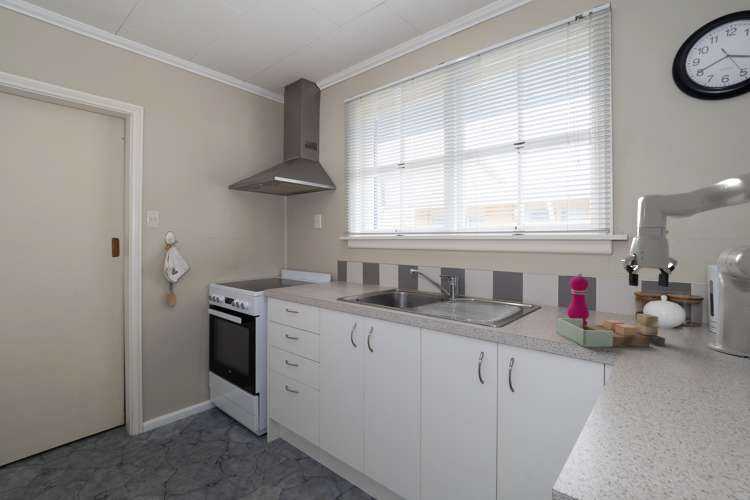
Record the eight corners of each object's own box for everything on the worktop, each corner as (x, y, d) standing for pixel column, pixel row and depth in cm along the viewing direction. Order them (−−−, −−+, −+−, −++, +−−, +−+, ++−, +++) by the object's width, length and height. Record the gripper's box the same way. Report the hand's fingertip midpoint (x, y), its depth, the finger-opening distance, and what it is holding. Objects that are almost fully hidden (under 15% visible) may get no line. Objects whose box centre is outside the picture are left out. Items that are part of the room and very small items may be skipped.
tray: (581, 332, 122) (582, 318, 122) (612, 347, 106) (613, 331, 106) (556, 332, 122) (556, 318, 122) (583, 347, 106) (584, 330, 106)
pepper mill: (592, 327, 129) (594, 274, 128) (573, 327, 129) (575, 273, 128) (581, 322, 136) (583, 272, 135) (563, 322, 136) (564, 271, 136)
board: (617, 334, 121) (618, 325, 121) (649, 347, 107) (649, 337, 107) (583, 333, 121) (583, 325, 121) (610, 346, 107) (610, 336, 107)
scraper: (639, 336, 119) (640, 311, 119) (666, 346, 108) (667, 319, 108) (627, 335, 119) (629, 311, 119) (653, 346, 108) (654, 319, 108)
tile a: (627, 331, 113) (627, 324, 113) (636, 335, 109) (637, 327, 109) (615, 331, 113) (615, 324, 113) (623, 335, 109) (624, 327, 109)
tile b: (614, 327, 119) (615, 319, 119) (623, 330, 115) (623, 322, 115) (603, 326, 119) (603, 319, 119) (611, 330, 115) (611, 322, 115)
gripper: (667, 234, 116) (665, 284, 117) (616, 233, 116) (613, 284, 117) (688, 234, 109) (685, 288, 109) (632, 233, 109) (630, 287, 109)
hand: (648, 286), depth 113 cm, fingers open, 9 cm apart
